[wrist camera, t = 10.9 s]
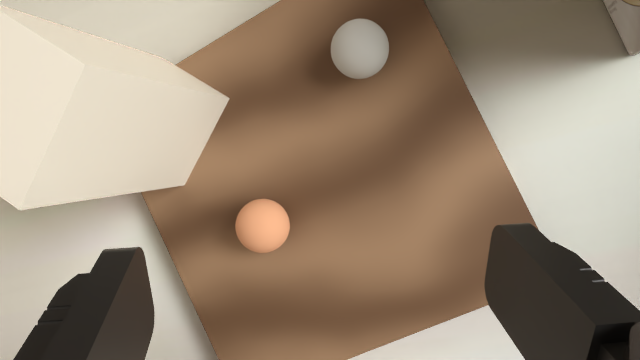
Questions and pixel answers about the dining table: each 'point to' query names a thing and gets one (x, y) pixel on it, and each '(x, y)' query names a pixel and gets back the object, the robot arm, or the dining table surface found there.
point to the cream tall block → (93, 116)
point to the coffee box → (626, 22)
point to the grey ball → (359, 48)
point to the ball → (262, 225)
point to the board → (336, 187)
